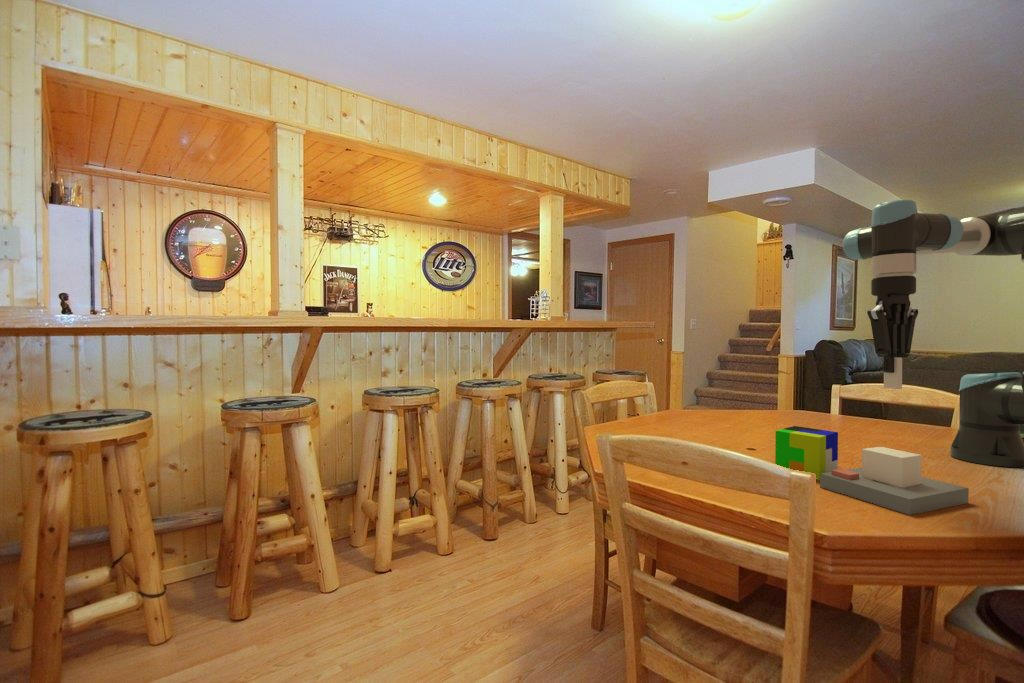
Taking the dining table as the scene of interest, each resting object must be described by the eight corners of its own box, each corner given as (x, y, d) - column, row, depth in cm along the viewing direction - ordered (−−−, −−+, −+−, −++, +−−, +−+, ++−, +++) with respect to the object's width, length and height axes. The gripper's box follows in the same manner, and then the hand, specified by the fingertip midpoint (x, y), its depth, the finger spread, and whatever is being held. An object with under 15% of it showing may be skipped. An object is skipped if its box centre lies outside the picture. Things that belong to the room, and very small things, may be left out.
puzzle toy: (837, 473, 121) (838, 432, 121) (819, 480, 116) (819, 437, 115) (794, 464, 129) (794, 425, 129) (775, 471, 124) (775, 430, 123)
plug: (880, 487, 110) (880, 446, 110) (920, 498, 103) (921, 455, 102) (861, 490, 108) (861, 449, 108) (901, 502, 100) (902, 457, 100)
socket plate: (875, 478, 117) (875, 461, 117) (968, 502, 100) (968, 483, 100) (820, 487, 110) (820, 469, 110) (909, 515, 94) (909, 493, 94)
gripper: (894, 278, 111) (893, 384, 112) (854, 277, 106) (853, 388, 107) (933, 275, 104) (932, 388, 105) (891, 273, 99) (891, 392, 100)
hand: (892, 388), depth 106 cm, fingers closed
